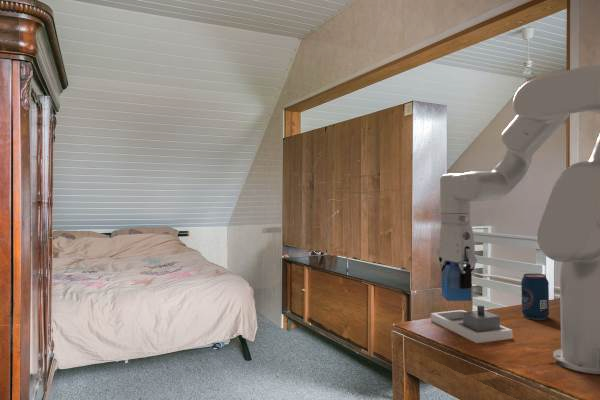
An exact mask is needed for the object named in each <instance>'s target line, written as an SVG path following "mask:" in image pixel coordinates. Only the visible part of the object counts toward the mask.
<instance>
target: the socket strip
mask: <svg viewBox="0 0 600 400" xmlns="http://www.w3.org/2000/svg"><path fill="white" fill-rule="evenodd" d="M463 312H468V311H466V310H464V309H459V310H458V309H457V310H449V311H448V310H447V311H439V312H431V313H430V321H431V322H433V323H435V324H437V325H439V326H442V327H443V328H445V329H447V330H448V331H451V332H453V333H455V334H457V335H459V336H462V337H463V338H466V339H467V340H469V341H471V342H474V343H475V344H480V343H487V342H488V343H489V342H495V341H503V340H510V339H511V340H513V339H514V334H513V329H511V328H509V327H506V326H504V325H501V324H500V330H496V331H488V332H479V333H477V332H475V331H473V330H470V329H468V328H466V327H464V326H463Z"/></svg>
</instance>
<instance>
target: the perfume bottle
mask: <svg viewBox="0 0 600 400" xmlns="http://www.w3.org/2000/svg"><path fill="white" fill-rule="evenodd" d="M462 261H463V260H462ZM449 262H450V265H446V266H445V268H444V270H443V271H441V296H442V297H443V298H444V299H445V300H446V301H448V302H454V301H455V302H459V301H460V302H461V301H462V302H472V287H471V288H467V289H461V288H460V273H461V270H460V267H459V264H458V263H454V262H451V261H449ZM465 266H466V265H464V268H465Z"/></svg>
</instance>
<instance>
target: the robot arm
mask: <svg viewBox="0 0 600 400" xmlns="http://www.w3.org/2000/svg"><path fill="white" fill-rule="evenodd" d="M512 107H513V111H514V112H515V114H516V116H515V117H514V119H512V121H511V122H509V124H508V125H507V126H506V128H505V129H504V130H503V131H502V133H501V137H500V138H501V141H502V143H503V145H504V146H505V147H506V153H505V155H504V157H503V158H502V159H501V160H500V162H499V163H497V165H496V166H495V167H494V169H492V170H491V171H484V170H483V171H482V170H481V171H468V172H464V173H445V174H442V175H441V177H440V179H439V190H440V191H439V193H440V194H439V196H440V197H439V199H440V200H439V203H440V205H439V206H440V208H439V209H440V231H439V248H438V250H437V251H436V254H437V256H438V262H439V263H440V264H439V266H440V268H441V270H440V271H441V272H442V271H443V270H444V268H445V266H446V265H450V262H449V261H451V262H454V263H458V264H459V267H460V270H461V273H460V288H461V289H467V288H471V289H472V281H473V278H472V274H473V273H474V270H475V268H476V264H477V262H478V259H477V257H476V249H475V248H476V247H475V237H474V232H473V227H472V225H471V202H484V201H498V200H501V199H503V198H505V197H506V196H507V195H508V194H509V193H511V192H512V191H513V190H514V189H515V188H516V187H517V186H518V184H519V183H520V182H522V181H523V179H524V177H526V175H527V173H528V171H529V168H530V166H531V163H532V160H533V156H534V154H535V153H536V152H537V151H538V150H539V149H540V147H542V145H543V144H544V143H545V142H546V141H548V139H549V138H550V137H551V136H552V135H553V134H554V133H555V132H556V131H557V130H558V129H559V128H560V127H561V125H562V124H563V123H564V122H565V121H566V120H567V119H568V118H570V116H571V114H575V113H584V112H588V113H589V112H590V113H597V114H600V65H599V64H591V65H585V66H584V65H583V66H581V67H577V68H572V69H568V70H563V71H560V72H556V73H552V74H547V75H544V76H539V77H536V78H533V79H531V80H529V81H528V80H527V81H526V82H525V83H524V84H523V83H522V85H521V86H520V87H519V88H518V89H517V90H516V92H515V94H514V97H513V99H512ZM541 216H542V217H541V219H540V222H539V225H538V228H537V234H536V235H537V236H536V237H537V245H538V246H539V249H540V250H541V252H542V253H543V254H544V256H546V257H547V258H549V259H550V260H552V261H555V262H559V263H561V266H560V273H559V275H560V276H559V301H560V302H559V303H560V304H559V305H560V307H559V308H560V311H559V312H560V347H561V348H560V349H556V350H554V351H553V353H552V356H553V359H555V360H556V361H555V363H556V364H558V365H560V366H562V367H564V368H566V369H568V370H573V371H575V372H581V373H585V374H592V375H600V134H599V135H598V137H597V140H596V142H595V145H594V147H593V151H592V153H591V155H590V158H589V159H588V160H587V161H584V160H583V161H578V162H575V163H574V164H571V165H569V166H568V167H566V168H565V169H564V170H562V172H561V173H560V174H559V175H558V177H557V179H556V180H555V182H554V185H553V187H552V190H551V192H550V194H549V197H548V201H547V203H546V205H545V208H544V211H543V213H542V215H541ZM462 260H463V261H462ZM464 266H465V268H464Z"/></svg>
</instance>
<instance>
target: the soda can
mask: <svg viewBox="0 0 600 400" xmlns="http://www.w3.org/2000/svg"><path fill="white" fill-rule="evenodd" d="M520 283H521V287H520V289H521V312H522V314H523V316H524V317H525V318H526V319H528V320H537V321H542V320H546V319H548V317H549V315H550V293H549V292H550V290H549V289H550V287H549V280H548V278H547V275H545V274H542V273H524V274H523V277H522V279H521V282H520Z"/></svg>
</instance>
